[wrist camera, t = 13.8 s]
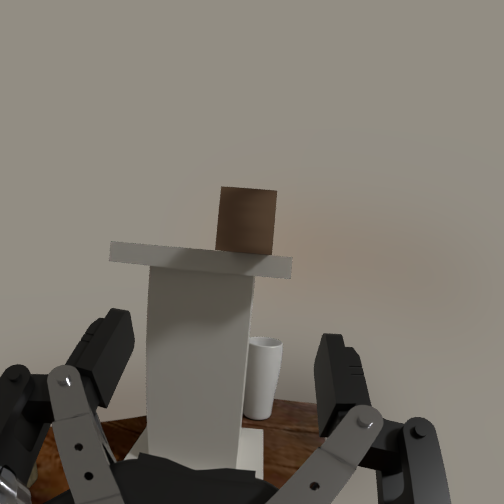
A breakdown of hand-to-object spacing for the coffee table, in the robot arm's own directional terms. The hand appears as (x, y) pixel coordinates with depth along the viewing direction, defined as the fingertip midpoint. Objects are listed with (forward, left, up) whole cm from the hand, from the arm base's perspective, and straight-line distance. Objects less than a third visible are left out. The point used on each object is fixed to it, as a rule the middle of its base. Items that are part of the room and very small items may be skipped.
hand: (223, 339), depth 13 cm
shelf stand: (-5, +26, -26) cm, 37 cm away
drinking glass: (+3, +43, -27) cm, 51 cm away
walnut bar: (0, +20, +4) cm, 20 cm away
